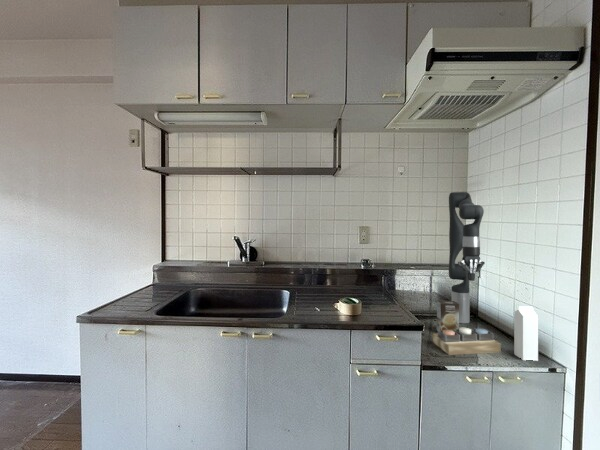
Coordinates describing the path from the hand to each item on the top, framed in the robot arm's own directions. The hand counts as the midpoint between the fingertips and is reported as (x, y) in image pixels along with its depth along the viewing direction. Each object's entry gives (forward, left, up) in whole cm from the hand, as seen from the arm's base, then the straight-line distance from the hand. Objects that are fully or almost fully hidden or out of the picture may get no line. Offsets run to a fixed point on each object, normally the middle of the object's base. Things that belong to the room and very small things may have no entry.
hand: (471, 280), depth 149 cm
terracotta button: (+9, -17, -24) cm, 31 cm away
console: (+9, -9, -29) cm, 32 cm away
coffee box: (-9, -7, -29) cm, 31 cm away
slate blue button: (+9, -1, -24) cm, 26 cm away
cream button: (+9, -9, -23) cm, 26 cm away
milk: (+22, +10, -29) cm, 38 cm away
